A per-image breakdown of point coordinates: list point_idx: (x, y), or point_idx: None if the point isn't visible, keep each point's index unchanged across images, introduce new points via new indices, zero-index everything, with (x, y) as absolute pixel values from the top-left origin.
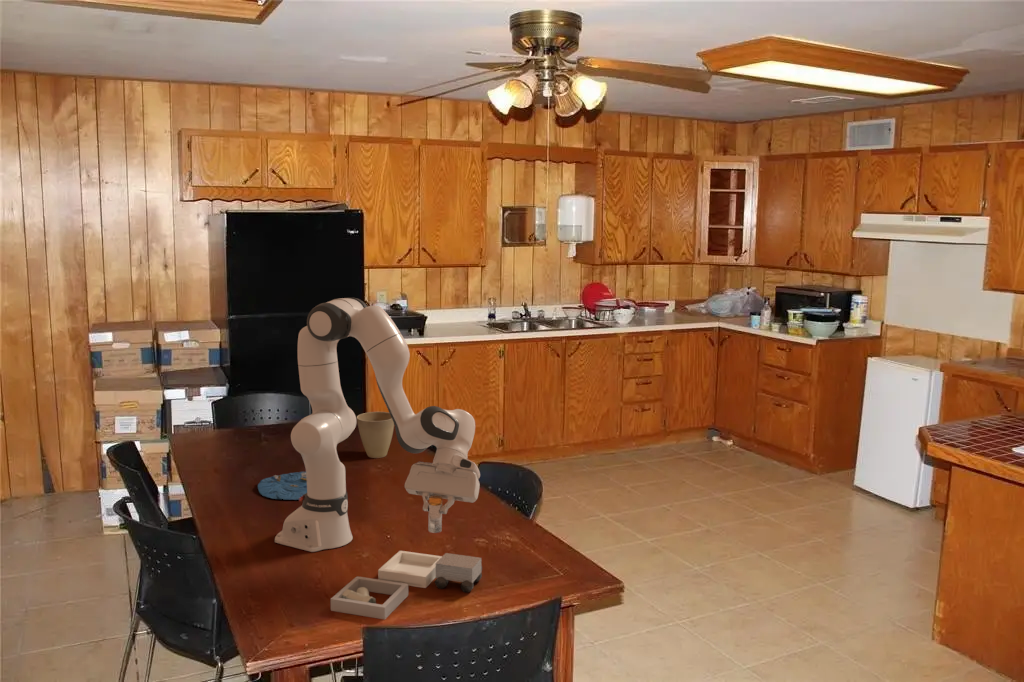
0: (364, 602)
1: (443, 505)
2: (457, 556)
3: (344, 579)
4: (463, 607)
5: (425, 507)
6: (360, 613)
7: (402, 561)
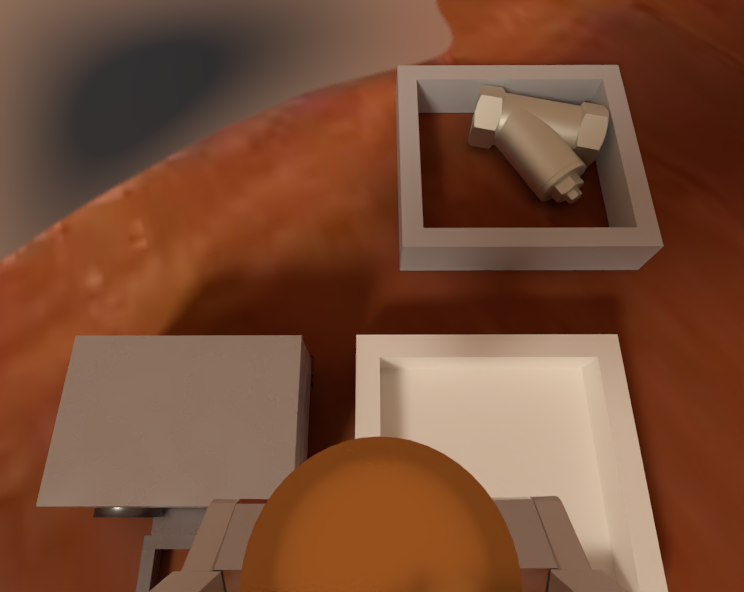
0: (486, 75)
1: (234, 563)
2: (199, 474)
3: (740, 319)
4: (149, 246)
5: (518, 503)
6: None
7: None
